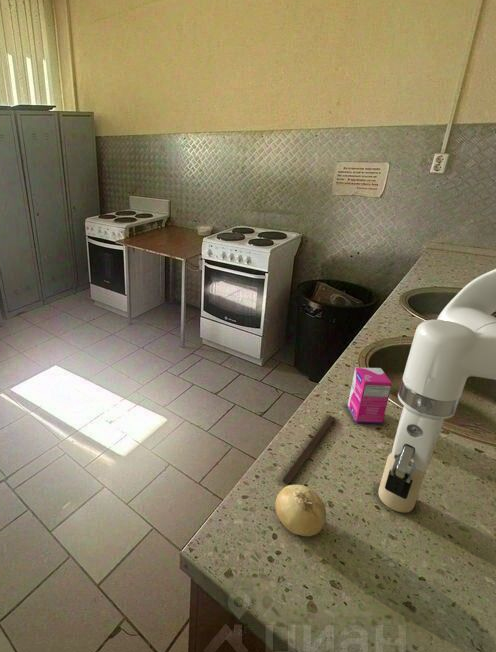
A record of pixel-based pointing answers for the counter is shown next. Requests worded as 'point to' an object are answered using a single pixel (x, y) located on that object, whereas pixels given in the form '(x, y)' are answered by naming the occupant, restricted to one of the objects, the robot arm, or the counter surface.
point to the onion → (300, 510)
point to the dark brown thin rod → (308, 450)
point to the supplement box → (369, 395)
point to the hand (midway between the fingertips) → (402, 476)
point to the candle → (393, 499)
